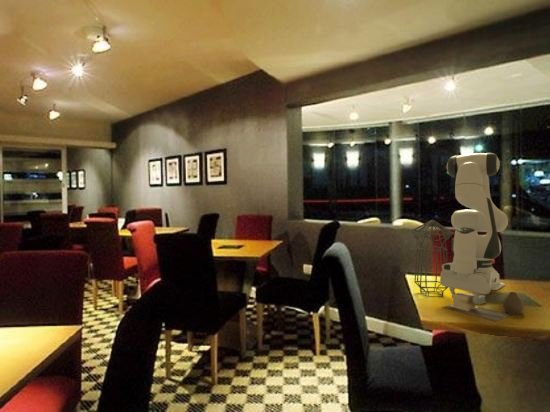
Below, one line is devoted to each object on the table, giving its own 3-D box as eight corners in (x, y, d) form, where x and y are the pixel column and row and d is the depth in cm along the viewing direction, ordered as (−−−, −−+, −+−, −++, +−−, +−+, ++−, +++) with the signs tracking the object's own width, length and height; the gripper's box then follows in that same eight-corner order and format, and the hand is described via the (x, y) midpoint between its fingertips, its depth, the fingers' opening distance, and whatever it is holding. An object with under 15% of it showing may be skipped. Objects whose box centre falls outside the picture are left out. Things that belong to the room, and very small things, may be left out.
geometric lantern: (420, 298, 186) (420, 221, 184) (409, 290, 201) (410, 219, 200) (455, 299, 185) (456, 221, 184) (442, 290, 201) (443, 219, 199)
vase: (514, 318, 158) (515, 295, 157) (498, 313, 164) (499, 291, 164) (527, 316, 160) (527, 293, 160) (510, 311, 167) (511, 289, 166)
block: (461, 303, 174) (461, 291, 173) (475, 307, 169) (475, 294, 168) (453, 305, 170) (453, 294, 170) (466, 309, 165) (467, 297, 165)
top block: (473, 302, 180) (473, 293, 180) (485, 305, 176) (485, 295, 176) (467, 304, 177) (467, 295, 177) (479, 307, 173) (479, 297, 173)
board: (459, 304, 176) (459, 301, 176) (513, 317, 158) (513, 314, 158) (441, 309, 169) (441, 306, 169) (495, 324, 151) (495, 321, 151)
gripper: (494, 270, 162) (493, 305, 163) (447, 262, 179) (446, 294, 179) (485, 272, 158) (484, 308, 159) (438, 264, 175) (437, 296, 176)
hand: (464, 300), depth 169 cm, fingers open, 7 cm apart
